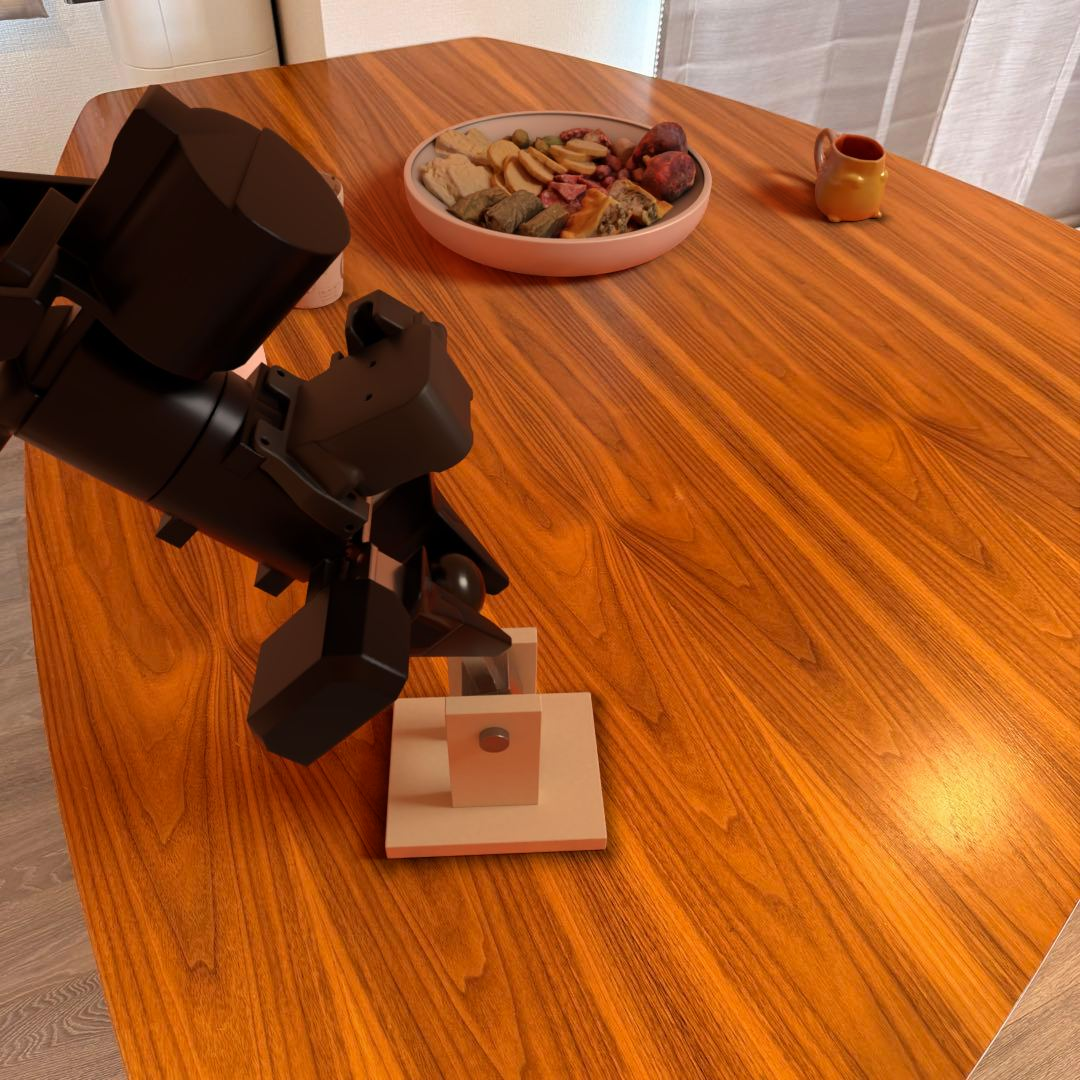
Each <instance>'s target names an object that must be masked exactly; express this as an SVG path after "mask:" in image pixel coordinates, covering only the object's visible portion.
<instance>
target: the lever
mask: <svg viewBox="0 0 1080 1080" xmlns="http://www.w3.org/2000/svg"><path fill="white" fill-rule="evenodd" d="M427 559H428V565H429V570H430V576H431V580H432V581H433V582H434V583H435V584H436V585H438V586H439V587H441V588H442V589H444V590H445V591H447V592H448V593H450V594H451V595H453V596H454V597H456V598H457V599H459V600H460V601H462V602H463V603H465V604H466V605H468V606H469V607H471V608H473V609H474V610H476V611H477V612H479V613H480V614H481V612H482V610H483V607H484V605H485V601H486V598H487V597H486V596H487V594H486V585H485V581H484V577H483V575H482V573H481V571H480V569H479V568H478V566H477V565H476V564H475V563H474V562H473V561H472V560H471V559H470V558H469V557H467V556H465V555H464V554H462V553H459V552H457V551H453V550H435V551H432V552H429V553H427ZM461 659H462V661H463V662H461V696H485V695H515V694H524V691H523V684H522V682H521V680H520V677H519V675H518V673H517V671H516V669H515V666H514V664H513V662H512V660H511V657H510V655H509V653H502V654H501V655H499V656H496V657H461Z"/></svg>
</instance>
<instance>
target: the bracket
mask: <svg viewBox="0 0 1080 1080" xmlns="http://www.w3.org/2000/svg"><path fill="white" fill-rule="evenodd" d="M500 628H501V629H502V630H503V631H504V632H505V633H507V634H508V635H509V636H510V637H511V638H512V646H511V647H510V648H509V649H508V650H506V651H505V652H504V653H509V655H510V657H511V660H512V662H513V664H514V666H515V669H516V671H517V673H518V675H519V677H520V680H521V682H522V684H523V691H524V694H515V695H485V696H461V662H463V661H462V659H461V657H446V665H447V678H448V692H449V696H429V697H404V698H402V697H401V698H399V697H398V699H397V700H396V701H395V702H393V709H392V711H393V712H392V728H391V745H390V759H389V760H390V761H389V774H388V775H389V776H388V790H387V791H388V792H387V805H386V806H387V808H386V821H385V822H386V823H385V837H384V839H385V841H384V849H385V854H386V858H387V859H404V858H406V859H407V858H431V857H452V856H454V857H455V856H477V855H479V856H481V855H501V854H522V853H523V854H524V853H525V854H526V853H527V854H528V853H546V852H547V853H548V852H572V851H596V850H597V851H598V850H606V847H607V840H608V835H607V834H608V833H607V825H606V824H607V823H606V815H605V805H604V799H603V790H602V781H601V780H602V779H601V771H600V764H599V755H598V747H597V738H596V730H595V729H596V728H595V721H594V711H593V703H592V695H591V692H590V691H583V692H582V691H581V692H580V691H579V692H578V691H577V692H554V693H553V692H552V693H548V692H547V693H537V678H538V677H537V676H538V674H537V673H538V672H537V671H538V631H537V630H538V629H537V627H536V626H527V627H526V626H525V627H523V626H522V627H500Z"/></svg>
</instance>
